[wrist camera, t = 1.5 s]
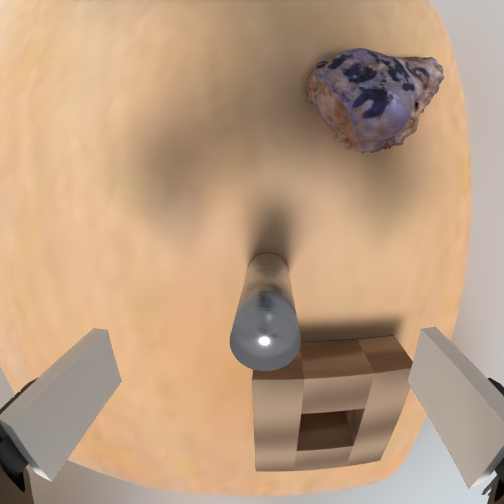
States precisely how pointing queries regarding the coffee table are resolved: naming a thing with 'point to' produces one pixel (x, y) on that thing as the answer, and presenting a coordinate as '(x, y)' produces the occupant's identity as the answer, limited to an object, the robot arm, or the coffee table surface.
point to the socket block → (330, 404)
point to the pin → (266, 317)
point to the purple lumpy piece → (373, 96)
